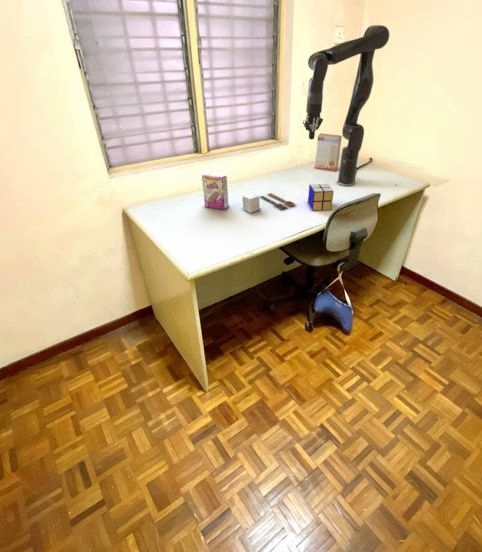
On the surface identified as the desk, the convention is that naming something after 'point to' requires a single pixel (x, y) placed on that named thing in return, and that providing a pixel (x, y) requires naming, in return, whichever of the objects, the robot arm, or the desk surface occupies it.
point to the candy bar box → (215, 190)
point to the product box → (251, 202)
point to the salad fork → (274, 203)
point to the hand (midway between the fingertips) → (311, 138)
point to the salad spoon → (287, 203)
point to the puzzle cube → (320, 197)
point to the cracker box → (328, 151)
